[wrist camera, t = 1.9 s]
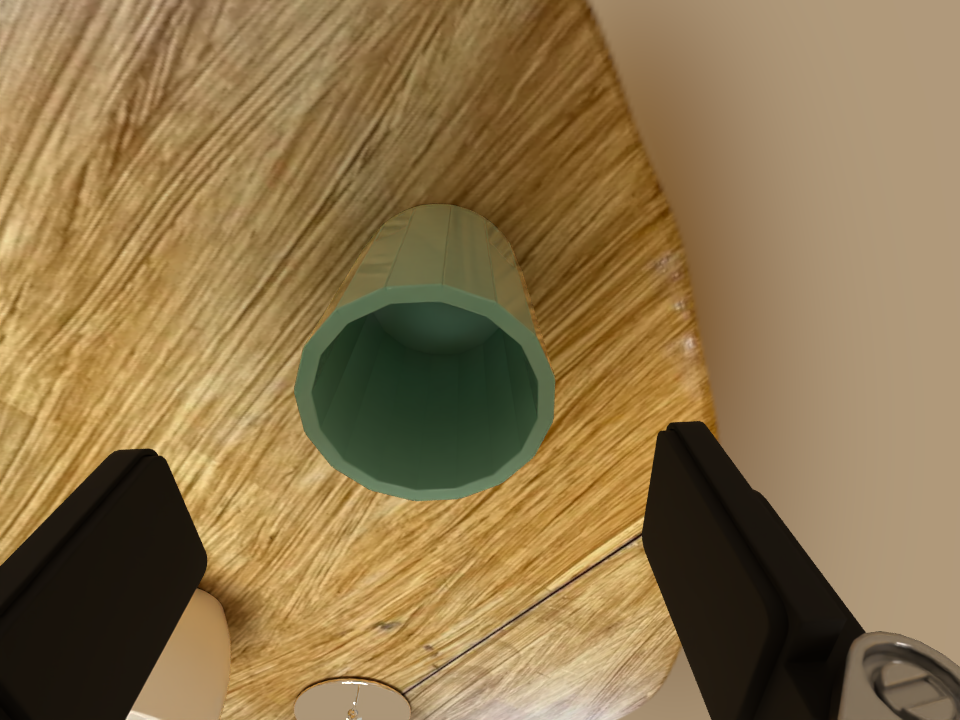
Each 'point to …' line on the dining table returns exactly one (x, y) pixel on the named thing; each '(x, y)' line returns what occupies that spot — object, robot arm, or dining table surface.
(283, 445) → the dining table surface
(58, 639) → the robot arm
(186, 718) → the cup
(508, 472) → the tumbler
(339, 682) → the wineglass
